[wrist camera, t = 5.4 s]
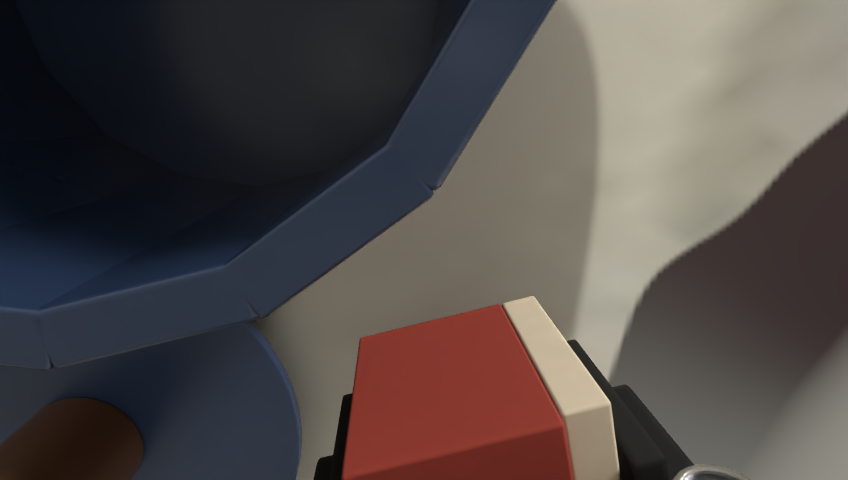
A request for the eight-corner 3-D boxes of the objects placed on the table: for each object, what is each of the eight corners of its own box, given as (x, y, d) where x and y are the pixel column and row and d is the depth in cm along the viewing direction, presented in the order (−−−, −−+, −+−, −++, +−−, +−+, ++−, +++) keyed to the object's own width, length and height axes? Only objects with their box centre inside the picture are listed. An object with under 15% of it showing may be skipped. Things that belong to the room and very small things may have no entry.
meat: (358, 336, 11) (339, 477, 7) (533, 294, 11) (618, 410, 7) (414, 513, 12) (424, 712, 8) (566, 477, 12) (649, 658, 8)
